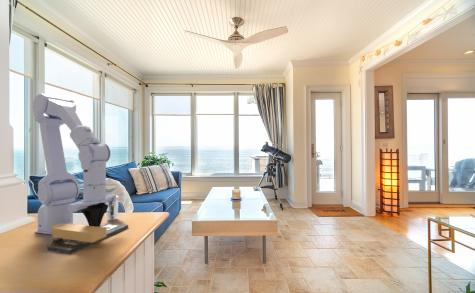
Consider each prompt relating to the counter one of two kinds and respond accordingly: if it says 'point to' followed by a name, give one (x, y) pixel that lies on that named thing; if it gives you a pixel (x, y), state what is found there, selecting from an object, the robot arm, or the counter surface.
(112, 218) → the milkshake
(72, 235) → the light wooden plank
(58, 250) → the panel
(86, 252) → the counter surface
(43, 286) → the counter surface
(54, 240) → the pivot plinth
